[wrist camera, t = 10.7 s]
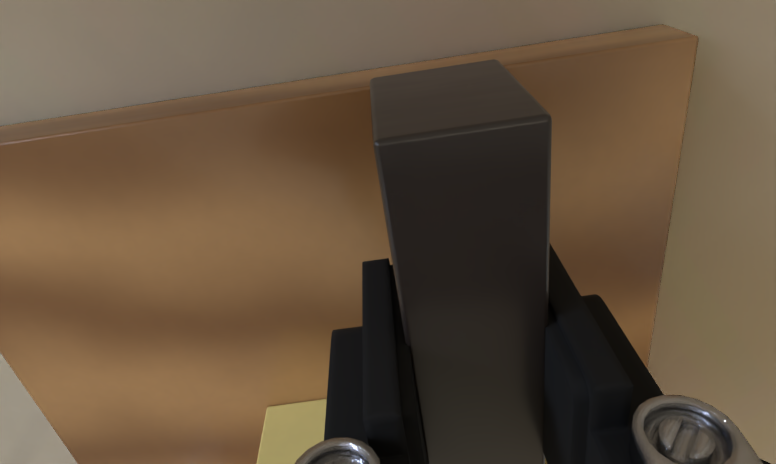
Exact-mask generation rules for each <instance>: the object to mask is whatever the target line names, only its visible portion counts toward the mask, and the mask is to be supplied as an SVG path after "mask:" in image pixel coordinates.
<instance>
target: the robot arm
mask: <svg viewBox="0 0 776 464" xmlns="http://www.w3.org/2000/svg"><path fill="white" fill-rule="evenodd" d="M543 453H544V455H545V458H546V461H547V464H770V463H768V462H766V461H764V460H761V459H760V458H759V457H758V456H757V454H756V453H755V451H754V450H753V448H752V447H751V446H750V444H749V443H748V441H747V440H746V439H745V437H744V436H743V434H742V433H741V432H740V430H739V429H738V428H737V426H736V425H735V424H734V423H733V422H732V421H731V420H730V419H729V418H728V417H727V416H726V415H725V414H723V413H722V412H720V411H719V410H717V409H716V408H714V407H713V406H711V405H709V404H707V403H704V402H702V401H700V400H697V399H694V398H690V397H685V396H681V395H663V393H662V392H661V390H660V389H659V387H658V385H657V384H656V382H655V381H654V379H653V378H652V376H651V374H650V373H649V371H648V370H647V368H646V367H645V365H644V363H643V362H642V360H641V359H640V357H639V356H638V354H637V352H636V351H635V349H634V348H633V346H632V345H631V343H630V341H629V340H628V338H627V337H626V335H625V334H624V332H623V330H622V329H621V327H620V326H619V324H618V323H617V321H616V319H615V318H614V316H613V315H612V313H611V312H610V310H609V308H608V307H607V305H606V304H605V302H604V301H603V300H602V298H601V297H600V296H599V295H597V294H593V295H586V296H581V295H580V293H579V292H578V290H577V288H576V287H575V285H574V283H573V281H572V280H571V278H570V276H569V275H568V273H567V271H566V269H565V268H564V266H563V264H562V263H561V261H560V259H559V257H558V256H557V254H556V252H555V251H554V249H553V247H552V246H551V244H550V248H549V298H548V326H547V327H545V375H544V428H543ZM295 464H428V462H427V456H426V450H425V443H424V437H423V431H422V425H421V418H420V412H419V406H418V399H417V393H416V387H415V380H414V374H413V368H412V362H411V355H410V349H409V346H408V345H407V344H406V343H405V336H404V330H403V324H402V318H401V312H400V306H399V300H398V294H397V288H396V282H395V276H394V270H393V265H390V262H389V258H385V259H378V260H371V261H364V262H362V326H359V327H352V328H344V329H337V330H333V331H332V335H331V347H330V361H329V375H328V389H327V402H326V416H325V430H324V441H321V442H319V443H318V444H316V445H314V446H312V447H311V448H309V449H308V450H306V451H305V452H304V453H303V454H302V455H301V456H300V457H299V458H298V459H297V460H296V462H295Z"/></svg>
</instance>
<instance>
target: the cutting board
mask: <svg viewBox="0 0 776 464" xmlns="http://www.w3.org/2000/svg"><path fill="white" fill-rule="evenodd" d="M697 45H698V36H695V35H692V34H689V33H687V32H684V31H681V30H678V29H675V28H672V27H669V26H666V25H656V26H650V27H643V28H637V29H630V30H624V31H617V32H611V33H604V34H598V35H591V36H585V37H578V38H572V39H565V40H559V41H552V42H546V43H539V44H533V45H526V46H520V47H513V48H507V49H500V50H493V51H487V52H480V53H474V54H467V55H461V56H454V57H448V58H441V59H435V60H428V61H422V62H415V63H409V64H402V65H396V66H389V67H383V68H376V69H370V70H363V71H357V72H350V73H344V74H337V75H331V76H324V77H318V78H311V79H305V80H298V81H292V82H285V83H279V84H272V85H266V86H259V87H253V88H246V89H240V90H233V91H227V92H220V93H214V94H207V95H201V96H194V97H188V98H181V99H175V100H168V101H162V102H155V103H149V104H142V105H136V106H129V107H123V108H116V109H110V110H103V111H97V112H90V113H84V114H77V115H71V116H64V117H58V118H51V119H45V120H38V121H32V122H25V123H19V124H12V125H6V126H0V353H1V354H2V355H3V357H4V358H5V360H6V361H7V363H8V364H9V365H10V367H11V368H12V370H13V371H14V373H15V374H16V376H17V377H18V378H19V380H20V381H21V383H22V384H23V386H24V387H25V388H26V390H27V391H28V393H29V394H30V396H31V397H32V398H33V400H34V401H35V403H36V404H37V406H38V407H39V409H40V410H41V411H42V413H43V414H44V416H45V417H46V419H47V420H48V421H49V423H50V424H51V426H52V427H53V429H54V430H55V431H56V433H57V434H58V436H59V437H60V439H61V440H62V441H63V443H64V444H65V446H66V447H67V449H68V450H69V452H70V453H71V454H72V456H73V457H74V459H75V460H76V462H77V463H78V464H257V458H258V453H259V447H260V442H261V437H262V431H263V426H264V421H265V415H266V410H267V407H269V406H277V405H284V404H291V403H299V402H306V401H313V400H321V399H327V389H328V375H329V361H330V347H331V335H332V331H333V330H337V329H344V328H352V327H359V326H362V262H364V261H371V260H378V259H385V258H389V262H390V265H393V264H392V258H391V252H390V246H389V239H388V233H387V227H386V221H385V215H384V209H383V203H382V197H381V191H380V185H379V179H378V173H377V167H376V161H375V155H374V148H373V136H372V118H371V100H370V80H371V79H373V78H375V77H382V76H388V75H395V74H401V73H408V72H414V71H421V70H427V69H434V68H440V67H447V66H453V65H460V64H466V63H473V62H479V61H486V60H492V59H495V60H498V61H499V62H500V63H501V64H502V65H503V66H504V67H505V68H506V69H507V70H508V71H509V72H510V73H511V74H512V75H513V76H514V77H515V79H516V80H517V81H518V82H519V83H520V84H521V85H522V86H523V87H524V88H525V89H526V90H527V91H528V92H529V93H530V94H531V95H532V96H533V97H534V98H535V99H536V100H537V101H538V102H539V103H540V104H541V106H542V107H543V108H544V109H545V110H546V111H547V112H548V113H549V114H550V115H551V118H552V149H551V198H550V244H551V246H552V247H553V249H554V251H555V252H556V254H557V256H558V257H559V259H560V261H561V263H562V264H563V266H564V268H565V269H566V271H567V273H568V275H569V276H570V278H571V280H572V281H573V283H574V285H575V287H576V288H577V290H578V292H579V293H580V295H581V296H586V295H593V294H597V295H599V296H600V297H601V298H602V300H603V301H604V302H605V304H606V305H607V307H608V308H609V310H610V312H611V313H612V315H613V316H614V318H615V319H616V321H617V323H618V324H619V326H620V327H621V329H622V330H623V332H624V334H625V335H626V337H627V338H628V340H629V341H630V343H631V345H632V346H633V348H634V349H635V351H636V352H637V354H638V356H639V357H640V359H641V360H642V362H643V363H644V365H645V367H646V368H647V366H648V359H649V353H650V346H651V340H652V334H653V327H654V321H655V314H656V308H657V302H658V295H659V289H660V282H661V276H662V269H663V263H664V257H665V250H666V244H667V237H668V231H669V225H670V218H671V212H672V205H673V199H674V192H675V186H676V180H677V173H678V167H679V160H680V154H681V148H682V141H683V135H684V128H685V122H686V115H687V109H688V103H689V96H690V90H691V83H692V77H693V71H694V64H695V58H696V51H697Z"/></svg>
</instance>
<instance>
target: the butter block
mask: <svg viewBox="0 0 776 464" xmlns="http://www.w3.org/2000/svg"><path fill="white" fill-rule="evenodd" d="M326 402H327V399H321V400H313V401H306V402H299V403H291V404H284V405H277V406H269V407H267V410H266V415H265V421H264V426H263V431H262V437H261V442H260V447H259V453H258V458H257V464H295V462H296V460H297V459H298V458H299V457H300V456H301V455H302V454H303V453H304V452H305V451H306V450H308V449H309V448H311V447H312V446H314V445H316V444H318V443H319V442H321V441H324V430H325V416H326Z"/></svg>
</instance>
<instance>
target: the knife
mask: <svg viewBox="0 0 776 464" xmlns="http://www.w3.org/2000/svg"><path fill="white" fill-rule="evenodd" d="M370 100H371V118H372V136H373V148H374V155H375V161H376V167H377V173H378V179H379V185H380V191H381V197H382V203H383V209H384V215H385V221H386V227H387V233H388V239H389V246H390V252H391V258H392V264H393V270H394V276H395V282H396V288H397V294H398V300H399V306H400V312H401V318H402V324H403V330H404V336H405V343H406V344H407V345H408V346H409V349H410V355H411V362H412V368H413V374H414V380H415V387H416V393H417V399H418V406H419V412H420V418H421V425H422V431H423V437H424V443H425V450H426V456H427V462H428V464H545V455H544V453H543V428H544V375H545V327H547V326H548V298H549V248H550V198H551V149H552V118H551V115H550V114H549V113H548V112H547V111H546V110H545V109H544V108H543V107H542V106H541V104H540V103H539V102H538V101H537V100H536V99H535V98H534V97H533V96H532V95H531V94H530V93H529V92H528V91H527V90H526V89H525V88H524V87H523V86H522V85H521V84H520V83H519V82H518V81H517V80H516V79H515V77H514V76H513V75H512V74H511V73H510V72H509V71H508V70H507V69H506V68H505V67H504V66H503V65H502V64H501V63H500V62H499V61H498V60H495V59H492V60H486V61H479V62H473V63H466V64H460V65H453V66H447V67H440V68H434V69H427V70H421V71H414V72H408V73H401V74H395V75H388V76H382V77H375V78H373V79H371V80H370Z"/></svg>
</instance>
